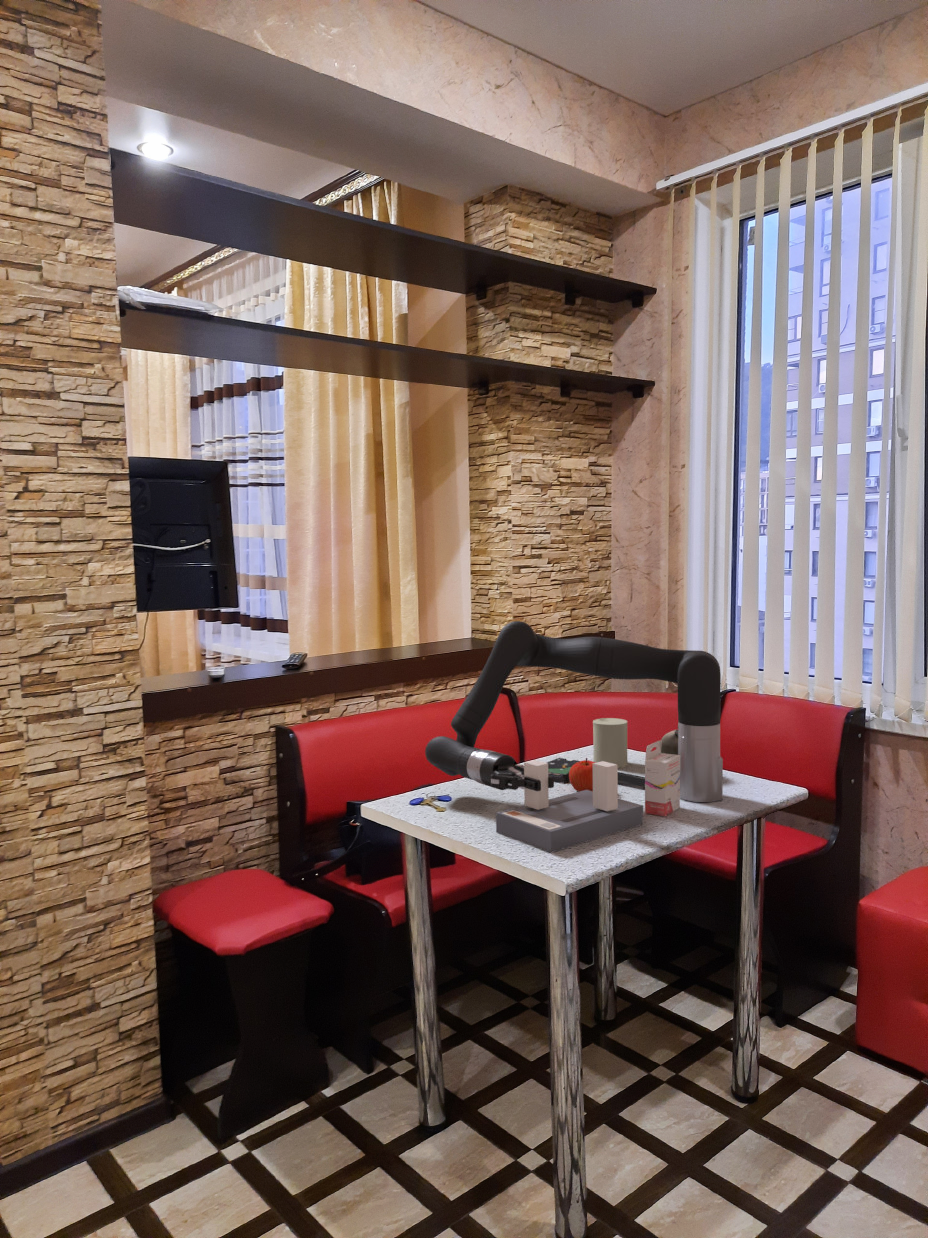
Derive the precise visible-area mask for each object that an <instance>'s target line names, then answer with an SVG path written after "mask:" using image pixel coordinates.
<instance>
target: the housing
mask: <svg viewBox="0 0 928 1238" xmlns="http://www.w3.org/2000/svg"><path fill="white" fill-rule="evenodd" d="M643 825H644V805H643V804H640V803H635V802H631V801H630V800H625V799H621V798H618V809H614V810H611V811H604V810H601V809H598V808H594V807H593V791H590V790H584V791H580V792H579V791H576V792H572V793H569V794H565V795H560V796H557V797H553V798H549V807H546V808H543V809H539V810H537V809H534V808H531V807H528V806H525V805H522V806H517V807H513V808H509V809H506V810H502V811H498V812H495V826H496V827H495V829H496V830H495V831H496V833H498V834H501V835H503V836H506V837H508V838H511V839H514V840H516V841H519V842H521V843H525V844H527V845H529V846H532V847H535V848H536V849H541V850H542V851H546V852H547V853H554V852H558V851H561V850H564V849H568V848H571V847H575V846H577V845H580V844H584V843H588V842H590V841H594V840H596V839H601V838H603V837H607V836H610V835H613V834H617V833H620V832H623V831H626V830H630V829H632V828H635V827H639V826H643Z"/></svg>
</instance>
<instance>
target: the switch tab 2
mask: <svg viewBox="0 0 928 1238" xmlns="http://www.w3.org/2000/svg"><path fill="white" fill-rule="evenodd" d="M618 769H619V768H618V767H617V764H613V763H608V762H604V761H601V762H597V763H593V807H594V808H598V809H601V810H604V811H611V810H614V809H618V799H619V797H618V795H619V793H618V790H619V788H618V787H619V785H618V772H619V770H618Z"/></svg>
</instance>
